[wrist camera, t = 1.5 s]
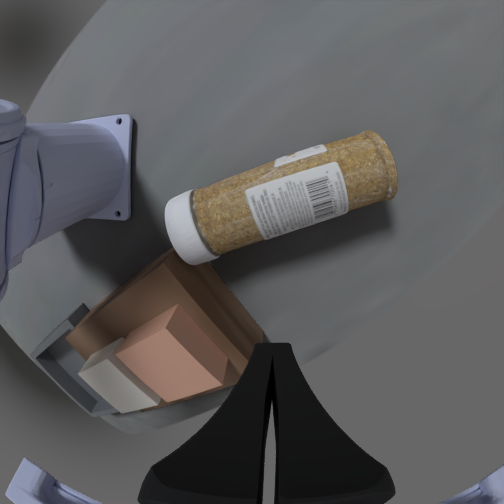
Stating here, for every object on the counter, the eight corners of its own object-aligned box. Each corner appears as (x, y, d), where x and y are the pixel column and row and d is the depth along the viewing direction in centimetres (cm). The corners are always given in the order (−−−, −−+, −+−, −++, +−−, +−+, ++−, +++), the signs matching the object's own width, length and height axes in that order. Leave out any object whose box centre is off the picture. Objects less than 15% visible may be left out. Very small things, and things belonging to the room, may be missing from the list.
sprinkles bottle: (365, 116, 14) (164, 186, 16) (404, 158, 11) (158, 240, 14) (368, 169, 18) (196, 227, 20) (398, 214, 15) (198, 279, 17)
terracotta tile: (178, 303, 16) (165, 328, 13) (228, 357, 17) (222, 384, 15) (129, 332, 17) (114, 354, 15) (176, 378, 18) (167, 402, 16)
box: (83, 303, 23) (67, 319, 20) (160, 384, 26) (152, 403, 23) (41, 342, 26) (29, 354, 23) (100, 402, 29) (92, 417, 27)
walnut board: (188, 235, 19) (163, 263, 15) (263, 331, 22) (261, 374, 17) (91, 308, 23) (65, 338, 18) (157, 377, 26) (141, 411, 21)
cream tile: (122, 336, 17) (107, 358, 15) (167, 381, 19) (158, 404, 16) (91, 354, 18) (77, 373, 16) (131, 393, 20) (121, 413, 17)
